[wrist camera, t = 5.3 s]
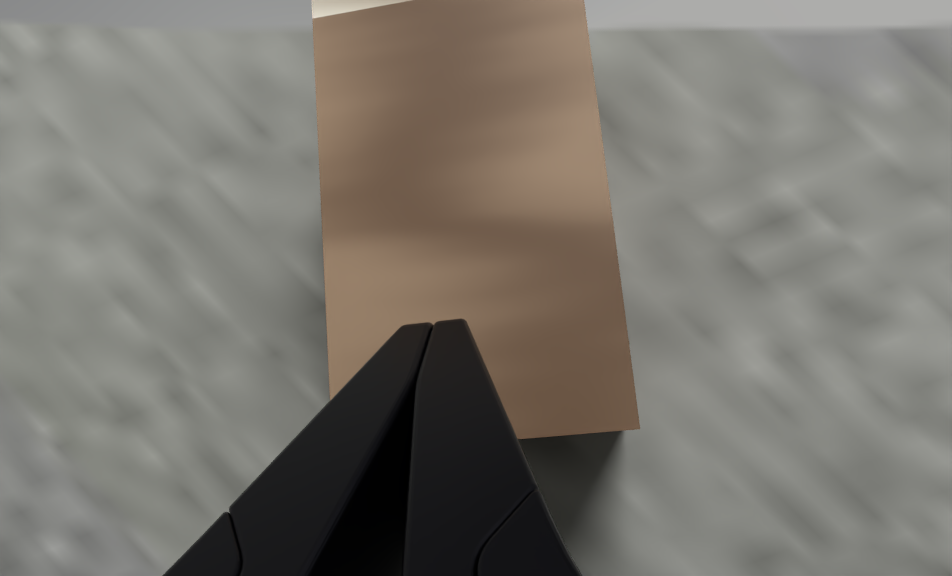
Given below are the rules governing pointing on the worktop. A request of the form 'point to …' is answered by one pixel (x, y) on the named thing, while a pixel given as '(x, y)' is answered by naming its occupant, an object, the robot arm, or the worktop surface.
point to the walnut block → (473, 199)
